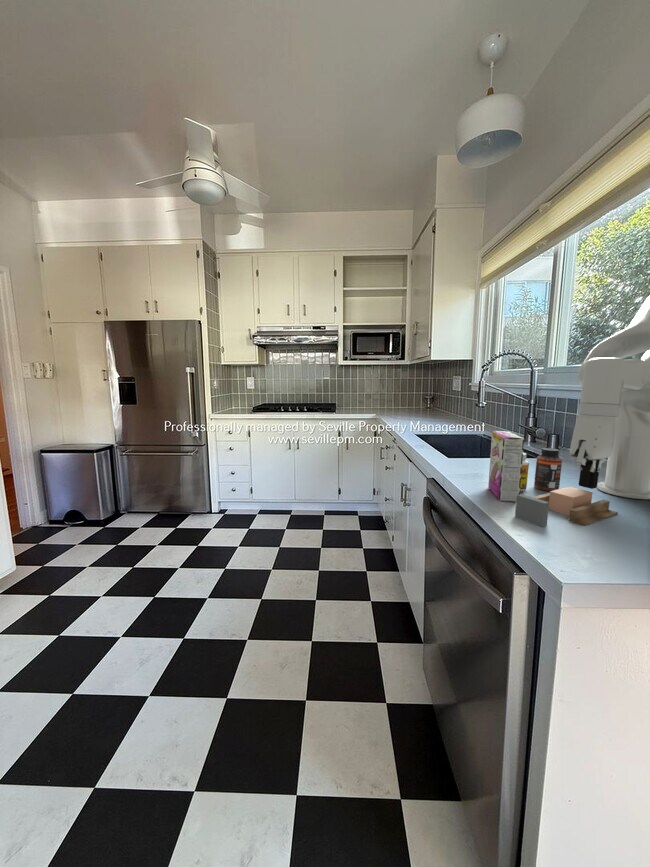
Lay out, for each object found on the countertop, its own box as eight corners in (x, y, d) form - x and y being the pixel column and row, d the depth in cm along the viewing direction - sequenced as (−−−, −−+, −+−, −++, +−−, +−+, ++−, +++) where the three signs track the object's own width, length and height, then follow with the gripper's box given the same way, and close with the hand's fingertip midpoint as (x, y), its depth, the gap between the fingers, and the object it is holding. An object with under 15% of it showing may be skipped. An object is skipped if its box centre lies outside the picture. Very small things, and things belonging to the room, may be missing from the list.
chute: (555, 496, 91) (556, 487, 90) (617, 514, 79) (618, 503, 79) (522, 505, 84) (523, 495, 84) (584, 525, 72) (585, 514, 72)
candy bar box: (486, 488, 98) (491, 430, 95) (505, 489, 97) (510, 431, 94) (498, 501, 87) (503, 436, 84) (519, 503, 86) (525, 437, 84)
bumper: (519, 515, 78) (521, 494, 77) (546, 525, 73) (549, 502, 72) (514, 516, 77) (516, 495, 76) (542, 526, 72) (544, 503, 71)
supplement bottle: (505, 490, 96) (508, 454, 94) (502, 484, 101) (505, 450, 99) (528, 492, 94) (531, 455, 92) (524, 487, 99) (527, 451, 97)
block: (567, 504, 86) (569, 486, 85) (590, 510, 81) (592, 492, 81) (548, 509, 82) (550, 491, 81) (571, 516, 78) (573, 497, 77)
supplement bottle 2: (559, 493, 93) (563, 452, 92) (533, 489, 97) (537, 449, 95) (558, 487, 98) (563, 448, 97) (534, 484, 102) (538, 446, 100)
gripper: (596, 410, 89) (586, 480, 91) (563, 410, 82) (553, 485, 84) (632, 412, 82) (621, 488, 84) (600, 412, 75) (588, 494, 78)
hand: (587, 486), depth 84 cm, fingers closed
